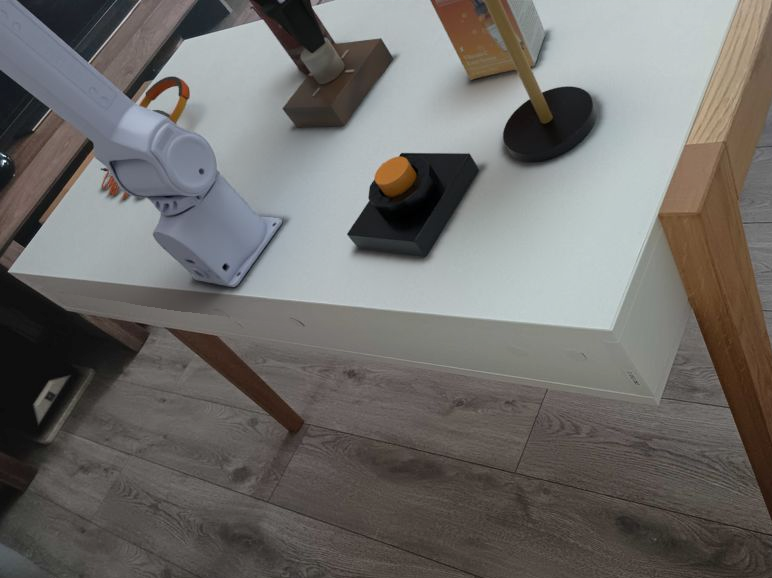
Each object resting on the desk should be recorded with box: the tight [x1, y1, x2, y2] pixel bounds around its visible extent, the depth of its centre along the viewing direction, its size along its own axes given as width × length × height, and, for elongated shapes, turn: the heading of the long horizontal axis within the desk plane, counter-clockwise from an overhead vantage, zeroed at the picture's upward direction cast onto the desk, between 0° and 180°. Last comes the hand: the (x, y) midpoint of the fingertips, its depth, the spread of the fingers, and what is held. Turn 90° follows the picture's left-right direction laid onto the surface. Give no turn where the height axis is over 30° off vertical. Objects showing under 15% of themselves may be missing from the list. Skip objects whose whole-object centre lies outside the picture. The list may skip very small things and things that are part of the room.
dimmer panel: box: [282, 37, 394, 128], centre depth 93 cm, size 12×9×3 cm
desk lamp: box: [484, 0, 598, 164], centre depth 63 cm, size 10×10×24 cm
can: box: [248, 0, 337, 76], centre depth 98 cm, size 6×6×14 cm
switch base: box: [346, 152, 480, 257], centre depth 72 cm, size 11×9×4 cm
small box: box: [429, 0, 546, 81], centre depth 78 cm, size 8×6×10 cm
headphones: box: [100, 76, 191, 201], centre depth 109 cm, size 17×5×20 cm
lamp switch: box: [373, 156, 417, 197], centre depth 70 cm, size 4×4×2 cm
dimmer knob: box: [300, 38, 345, 84], centre depth 91 cm, size 4×4×4 cm
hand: (308, 38), depth 89 cm, fingers open, 7 cm apart
